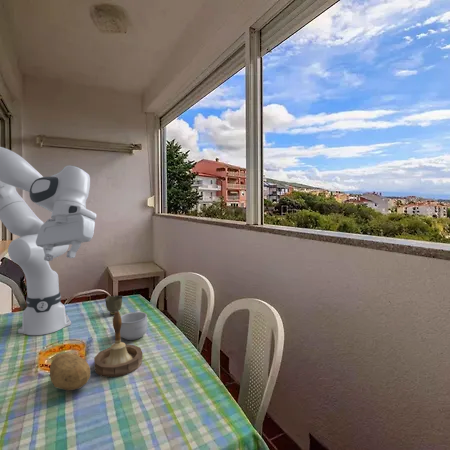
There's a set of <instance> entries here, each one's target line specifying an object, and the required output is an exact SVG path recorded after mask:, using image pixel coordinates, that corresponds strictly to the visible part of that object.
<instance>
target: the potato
mask: <svg viewBox="0 0 450 450" xmlns="http://www.w3.org/2000/svg"><path fill="white" fill-rule="evenodd" d="M49 376H50V380H51V383H52V384H53V387H54V388H57V389H60V390H65V391H74V390H78V389H81V388H83V386H85V385H87V383H88V382H89V379H90V378H91V368H90V365H89V363H88V361H87V360H86V359H85V358H83V357H82V356H79V355H77V354H74V353H71V352H65V353H60V354H58V355H56V356H55V357H54V358H53V359H52V361H51V363H50V366H49Z"/></svg>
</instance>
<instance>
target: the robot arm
mask: <svg viewBox="0 0 450 450" xmlns="http://www.w3.org/2000/svg"><path fill="white" fill-rule="evenodd" d="M17 189H20V190H22V191H25V192H28V193H29V199H30V200H31V202H32V203H34V204H36V205H38V206H39V207H41V208H44V209H45V210H47V211H49V212H51V215H50V218H48V219H47V220H46V221H45V222H44V220H42V219H40V217H38V216H37V215H36V213H35V212H34V210H32V209H31V207H30V205H28V203H27V202H26V201H25V199H24V198H23V197H22V196H21V195H20V194H19V192H18V191H17ZM90 189H91V176H90V174H89V173H88V172H87V171H86V170H85V169H83V168H81V167H78V166H76V165H66V166H64V167H63V169H62V170H60V171H59V172H58V173H55V174H53V175H50V176H43V175H42V174H41V173H40V172H39V171H38V170H37V169H36V168H35V167H34V166H33V165H31V163H29V162H28V161H27V160H26V159H25V158H23V156H21V155H20V154H18V153H17V152H15V151H13V150H11V149H8V148H6V147H3V146H0V221H1V223H2V224H3V225H4V227H5V228H6V229H7V231H9V232H10V233H11V234H12V235H16V236H18V238H16V239H13V240H11V242H10V244H9V245H8V247H7V253H8V256H9V259H10V260H11V261H12V262H13V263H14V264H17V265H18V266H19V268H21V269H22V272H23V274H24V277H25V282H26V293H27V295H26V297H25V299H26V300H25V303H26V308H25V309H24V310H23V311H22V326H20V328H18V329H17V333H18V334H24V335H27V336H41V335H47V334H51V333H55V332H57V331H60V330H62V329H63V328H65V327H68V326H71V325H72V321H71V320H70V318H69V316H68V314H67V312H66V306H65V305H64V304H63V303H62V302H61V300H62V295H61V292H60V285H59V283H60V280H59V274H58V272H57V271H55V270H54V269H52V267H51V265H50V262H52V261H53V259H56V258H58V257H61V256H62V255H64V254H65V253H66V257H67V258H69V259H74V258H76V255H77V252H78V251H79V249H81V245H82V244H83V243H87V242H91V240H92V239H93V237H94V234H95V227H96V222H95V221H96V219H97V215H98V214H97V213H96V212H94V211H91V209H88V208H87V204H86V203H87V199H88V198H89V195H90ZM69 248H70V249H69Z"/></svg>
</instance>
